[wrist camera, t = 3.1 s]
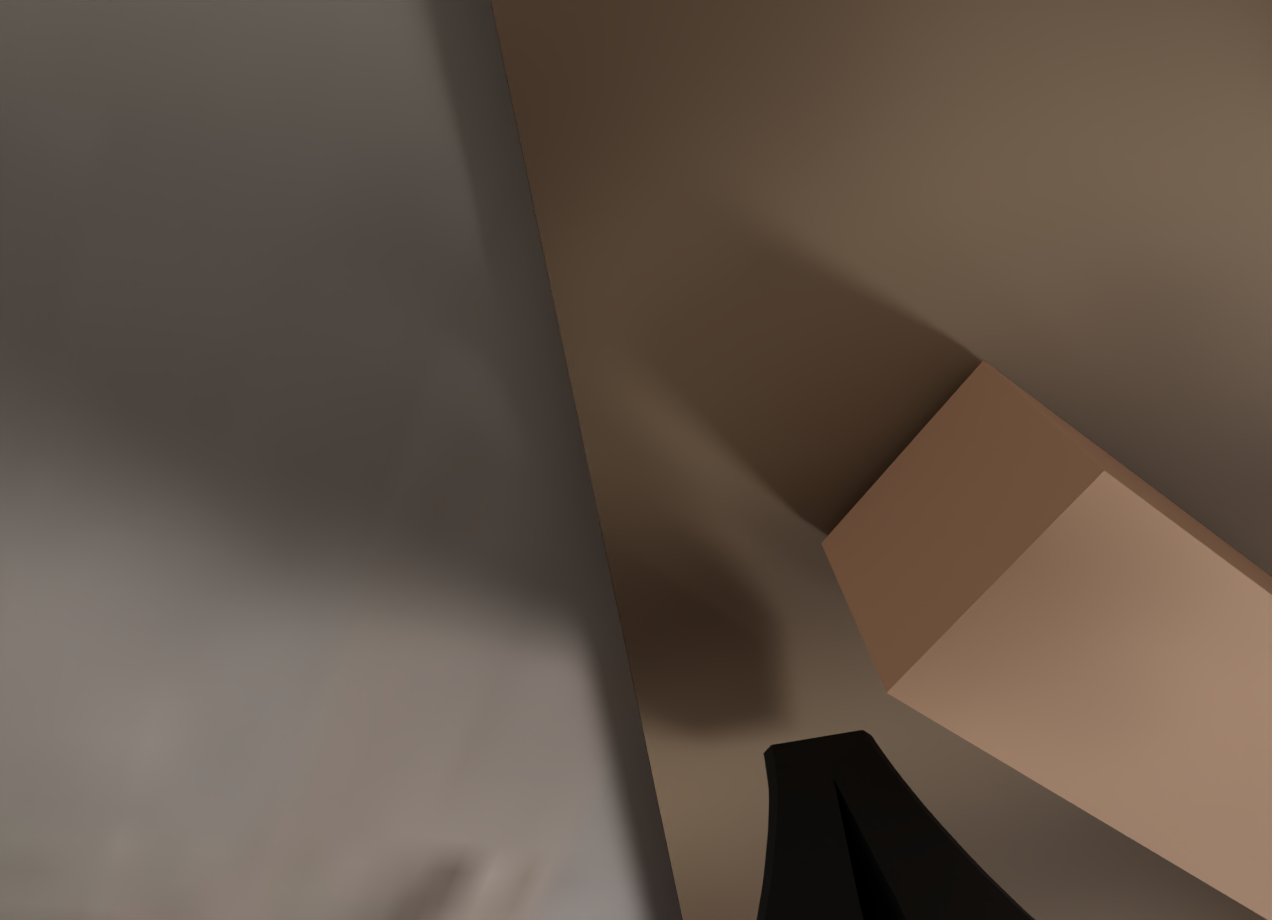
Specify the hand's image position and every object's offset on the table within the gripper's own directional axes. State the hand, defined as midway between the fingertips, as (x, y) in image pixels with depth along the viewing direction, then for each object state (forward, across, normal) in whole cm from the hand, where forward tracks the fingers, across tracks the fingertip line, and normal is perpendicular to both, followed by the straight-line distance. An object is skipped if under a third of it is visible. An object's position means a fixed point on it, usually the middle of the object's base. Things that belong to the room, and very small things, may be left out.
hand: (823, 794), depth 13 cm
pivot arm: (+1, -7, +1) cm, 7 cm away
